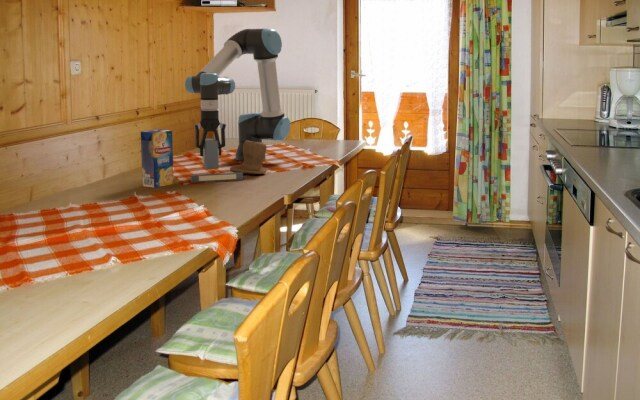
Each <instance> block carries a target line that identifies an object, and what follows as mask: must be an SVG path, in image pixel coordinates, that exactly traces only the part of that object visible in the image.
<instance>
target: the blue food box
mask: <svg viewBox="0 0 640 400" xmlns="http://www.w3.org/2000/svg"><path fill="white" fill-rule="evenodd" d="M173 146H174V145H173V130H169V129H152V130H144V131H140V153H141V154H140V155H141V177H142V181H141V182H142V183H141V184H142V187H148V188H149V187H150V188H160V187H164V186H169V185H174V184H175V182H174V152H173V151H174V150H173V149H174V148H173Z"/></svg>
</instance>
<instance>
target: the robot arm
mask: <svg viewBox="0 0 640 400" xmlns="http://www.w3.org/2000/svg"><path fill="white" fill-rule="evenodd" d="M282 43H283V42H282V37H281V36H280V34H279V32H277V31H276V30H275V29H273V28H246V29H242V30H239V31H237V32H236V33H235V34H233V35H231V37H229V38H228V39H227V40H226V41H225V42H224V43H223V47H222V48H221V49H220V50H219V51H218V52H217V53H216V54H215V55H214V56H213V58H211V60H210V61H208V63H206V64H205V65H204V67H202V69H201V70H200V71H199V72H198V73H197V74H195V75H191V76H188V77H186V79H185V80H184V88H185V90H186V92H188V93H190V94H195V95H196V94H200V109H201V110H200V122H199V123H197V124H196V123H195V124H193V127H194V129H195V131H194V133H195V135H194V136H195V137H194V139H195V140H194V142H195V143H194V144H195V145H194V146H195V148H197V149H199V157H202V165H203V164H205V149H204V148H203V147H204V143H205V139H207V135H208V133H209V132H213V136H214V139H215V140H217V141H218V165H219V164H220V156H222V148H224V147H226V132H225V131H226V128H227V127H226V126H227V125H226V123H222V122H221V121H220V120H219V119H220V118H219V116H220V115H219V110H218V109H219V95H221V96H223V95H230V94H232V93H234V91H235V89H236V82H235V80H234V79H233V78H232V77H229V76H220V75H222V74H223V73H224V71H225V70H226V69H227V68H228V67H229V66H230V65H231V64H232V63H233V62H234V61H235V60H236V59H239V58H241V56H243V55H253V60H254V61H255V62H256V63H257V70H258V72H257V73H258V78H259V87H260V93H261V94H260V95H261V104H262V112H252V113H251V112H250V113H243V114H240V115H239V116H238V122H237V124H238V145H237V148H236V152H235V155H234V159H235V160H236V161H240V160H241V162H244V156H243V144H244V142H245V141H246V140H248V141H254V142H262V143H263V140H267V141H268V140H269V141H284V140H285V139H287V137H288V136H289V133H290V130H291V120H290V118H289V117H287V116H286V115H285V110H282V108H281V99H280V90H279V81H278V72H277V63H276V60H277V58H279V54H280V53H281V51H282V46H283V44H282ZM201 128H202V129H203V130H202V136H201V139H200V129H201ZM218 128H220V138H219V133H218ZM266 158H267V157H266V154H265V157H264V159H263V161H265V160H266Z"/></svg>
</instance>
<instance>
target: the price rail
mask: <svg viewBox="0 0 640 400" xmlns="http://www.w3.org/2000/svg"><path fill="white" fill-rule="evenodd" d="M243 180H244V174H243V173H242V172H238V173H235V172H224V173H203V174H191V175H190V183H192V184H193V183H209V182H211V183H212V182H227V181H230V182H231V181H243Z"/></svg>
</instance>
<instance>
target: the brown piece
mask: <svg viewBox="0 0 640 400" xmlns="http://www.w3.org/2000/svg"><path fill="white" fill-rule="evenodd" d="M266 152H267V144H266V142H263V141H262V142H254V141H248V140H246V141H245V142H244V144H243V156H244V161H243V163H242V164H239V165H238V164H236V165H232V166H231V167H230V168H229V171H230V173H238V172H242V173H243V175H263V174H265V173H267V170H266V169H265V168H264V167H263V165H262V164H263V161H264V160H263V159H264V157H265V155H266Z"/></svg>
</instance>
